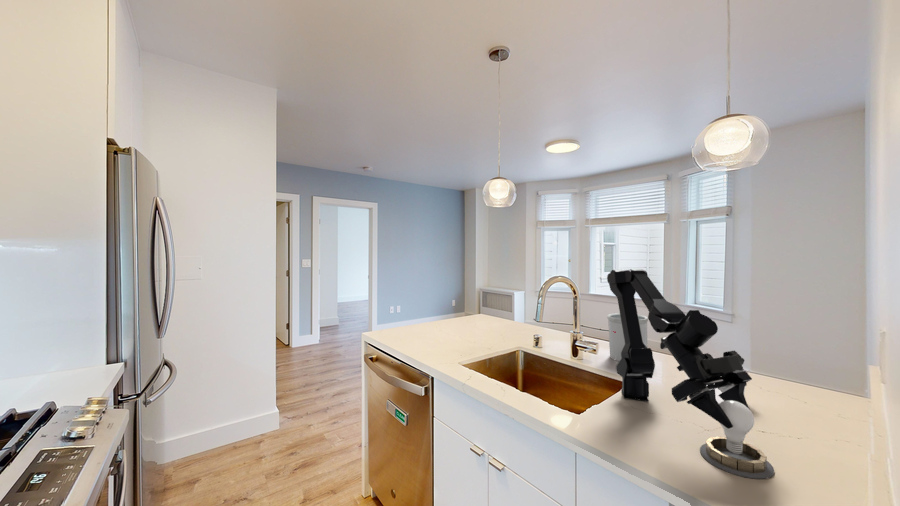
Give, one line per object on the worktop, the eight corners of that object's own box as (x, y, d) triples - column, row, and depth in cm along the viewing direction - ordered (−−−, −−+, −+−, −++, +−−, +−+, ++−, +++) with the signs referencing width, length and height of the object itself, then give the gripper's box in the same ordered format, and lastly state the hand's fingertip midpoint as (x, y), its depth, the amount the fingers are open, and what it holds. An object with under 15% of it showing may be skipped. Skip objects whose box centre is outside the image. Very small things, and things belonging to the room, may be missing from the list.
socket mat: (711, 471, 69) (711, 469, 69) (692, 440, 80) (692, 438, 80) (787, 484, 65) (787, 482, 65) (756, 450, 76) (756, 448, 76)
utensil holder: (614, 363, 135) (613, 319, 135) (603, 352, 150) (603, 312, 150) (654, 365, 133) (654, 320, 133) (639, 353, 148) (639, 313, 147)
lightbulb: (748, 448, 74) (748, 398, 74) (759, 465, 69) (759, 410, 68) (712, 441, 77) (711, 393, 77) (720, 457, 71) (720, 405, 71)
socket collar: (716, 467, 70) (716, 457, 70) (700, 442, 79) (700, 433, 79) (776, 477, 66) (776, 467, 66) (752, 450, 75) (752, 441, 75)
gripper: (684, 342, 73) (743, 418, 63) (742, 334, 79) (804, 402, 69) (651, 367, 81) (699, 438, 70) (706, 358, 87) (757, 422, 77)
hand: (741, 424), depth 71 cm, fingers closed on lightbulb, 6 cm apart
